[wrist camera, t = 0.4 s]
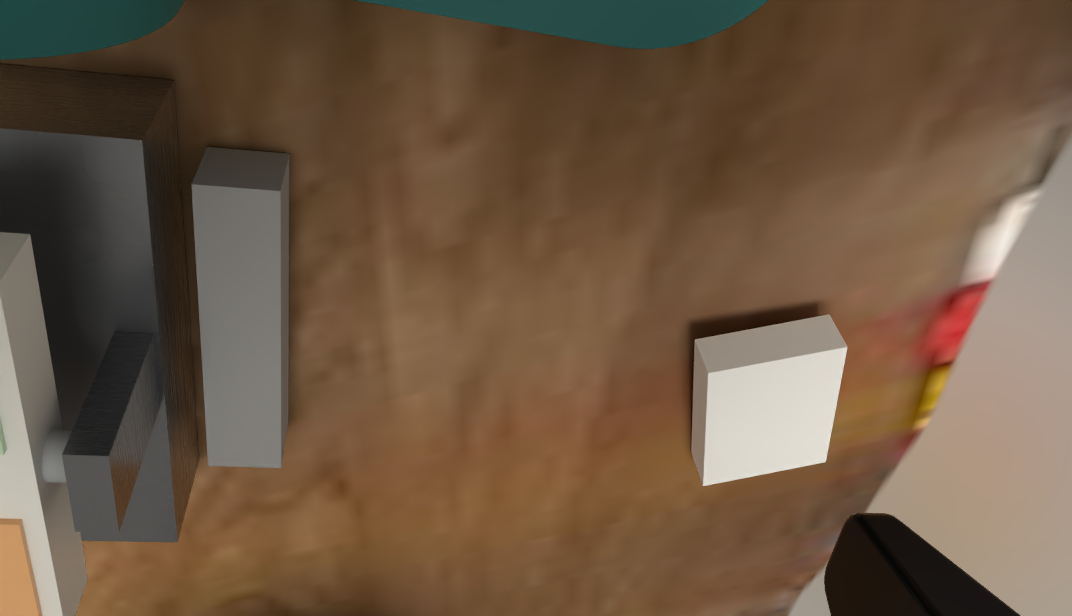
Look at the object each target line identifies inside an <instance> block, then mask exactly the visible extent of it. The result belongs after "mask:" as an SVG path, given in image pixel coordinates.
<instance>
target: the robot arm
mask: <svg viewBox="0 0 1072 616" xmlns="http://www.w3.org/2000/svg"><path fill="white" fill-rule="evenodd" d="M824 584H825V592H826V596H827V601H828V605H829V609H830V613H831V616H1020V615H1019V614H1018V613H1016V612H1015V611H1014V610H1013V609H1011V608H1010V607H1009V606H1007V605H1006V604H1005V603H1004V602H1003V601H1001V600H1000V599H999V598H998V597H996V596H995V595H994V594H992V593H991V592H990V591H989V590H987V589H986V588H985V587H984V586H982V585H981V584H980V583H978V582H977V581H976V580H974V579H973V578H972V577H971V576H970V575H968V574H967V573H966V572H965V571H963V570H962V569H961V568H959V567H958V566H957V565H955V564H954V563H953V562H952V561H950V560H949V559H948V558H946V557H945V556H944V555H943V554H942V553H940V552H939V551H938V550H937V549H935V548H934V547H933V546H931V545H930V544H929V543H928V542H926V541H925V540H924V539H923V538H921V537H920V536H919V535H917V534H916V533H915V532H914V531H912V530H911V529H910V528H909V527H907V526H906V525H905V524H903V523H902V522H901V521H899V520H898V519H897V518H895V517H894V516H892V515H889V514H884V513H855V514H852V515H851V516H850V517H849V518H847V520H846V521H845V523H844V525H843V528H842V530H841V533H840V535H839V537H838V540H837V542H836V545H835V547H834V549H833V552H832V554H831V557H830V559H829V561H828V564H827V567H826V570H825V578H824Z"/></svg>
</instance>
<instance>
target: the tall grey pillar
mask: <svg viewBox="0 0 1072 616" xmlns="http://www.w3.org/2000/svg"><path fill="white" fill-rule="evenodd" d="M191 186H192V203H193V220H194V237H195V253H196V270H197V287H198V304H199V321H200V338H201V355H202V372H203V388H204V405H205V422H206V439H207V456H208V466H231V467H263V468H281V466H282V459H283V453H284V447H285V440H286V434H287V428H288V406H289V154H286V153H274V152H262V151H250V150H239V149H227V148H215V147H206V149H205V152H204V154H203V157H202V159H201V162H200V164H199V167H198V169H197V172H196V174H195V177H194V179H193V182H192V184H191Z"/></svg>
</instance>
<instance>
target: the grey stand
mask: <svg viewBox="0 0 1072 616" xmlns="http://www.w3.org/2000/svg"><path fill="white" fill-rule="evenodd" d="M0 232H5V233H20V234H30V236H31V242H32V248H33V254H34V260H35V266H36V272H37V278H38V284H39V290H40V296H41V302H42V308H43V314H44V320H45V326H46V332H47V338H48V344H49V350H50V356H51V362H52V368H53V374H54V380H55V386H56V391H57V397H58V403H59V409H60V415H61V421H62V427H63V430H67V431H72V432H71V434H70V437H69V439H68V441H67V444H66V446H65V448H64V451H63V453H62V459H63V465H64V471H65V476H66V482H67V488H68V494H69V500H70V505H71V511H72V517H73V523H74V529H75V532H80V535H81V540H82V541H136V542H178V539H179V535H180V531H181V527H182V523H183V519H184V515H185V511H186V508H187V504H188V500H189V496H190V492H191V488H192V484H193V480H194V477H195V473H196V469H197V465H198V461H199V451H198V436H197V421H196V406H195V391H194V375H193V360H192V345H191V330H190V315H189V300H188V285H187V269H186V254H185V239H184V224H183V209H182V194H181V178H180V163H179V148H178V133H177V118H176V103H175V88H174V80H167V79H156V78H146V77H135V76H125V75H114V74H103V73H93V72H82V71H72V70H61V69H50V68H40V67H29V66H19V65H8V64H0Z"/></svg>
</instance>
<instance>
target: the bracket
mask: <svg viewBox="0 0 1072 616" xmlns="http://www.w3.org/2000/svg"><path fill="white" fill-rule="evenodd" d="M184 1H185V0H0V60H2V59H25V58H38V57H51V56H59V55H67V54H75V53H81V52H86V51H92V50H98V49H102V48H107V47H111V46H115V45H119V44H122V43H125V42H129V41H132V40H135V39H138V38H140V37H143V36H145V35H147V34H150V33H152V32H154V31H155V30H157V29H159V28H161V27H163V26H164V25H165V24H166V23H168V22H169V21H170V20H171V19H172V18H173V17H174V16H175V15H176V13H177V12H178V10H179V9H180V7H181V6H182V4H183V2H184ZM356 1H361V2H367V3H373V4H378V5H384V6H390V7H395V8H401V9H407V10H412V11H418V12H424V13H430V14H435V15H441V16H447V17H452V18H458V19H464V20H469V21H475V22H481V23H486V24H492V25H498V26H503V27H509V28H515V29H520V30H526V31H532V32H537V33H543V34H549V35H554V36H560V37H566V38H571V39H577V40H583V41H588V42H594V43H600V44H605V45H611V46H617V47H625V48H634V49H654V48H664V47H672V46H677V45H682V44H687V43H691V42H694V41H697V40H700V39H703V38H706V37H709V36H711V35H713V34H716V33H718V32H721V31H723V30H725V29H727V28H728V27H730V26H732V25H734V24H736V23H738V22H739V21H741V20H743V19H744V18H746V17H747V16H748V15H750V14H751V13H753V12H754V11H756V10H757V9H758V8H760V7H761V6H762V5H763V4H764V3H766V2H767V1H768V0H356Z"/></svg>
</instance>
